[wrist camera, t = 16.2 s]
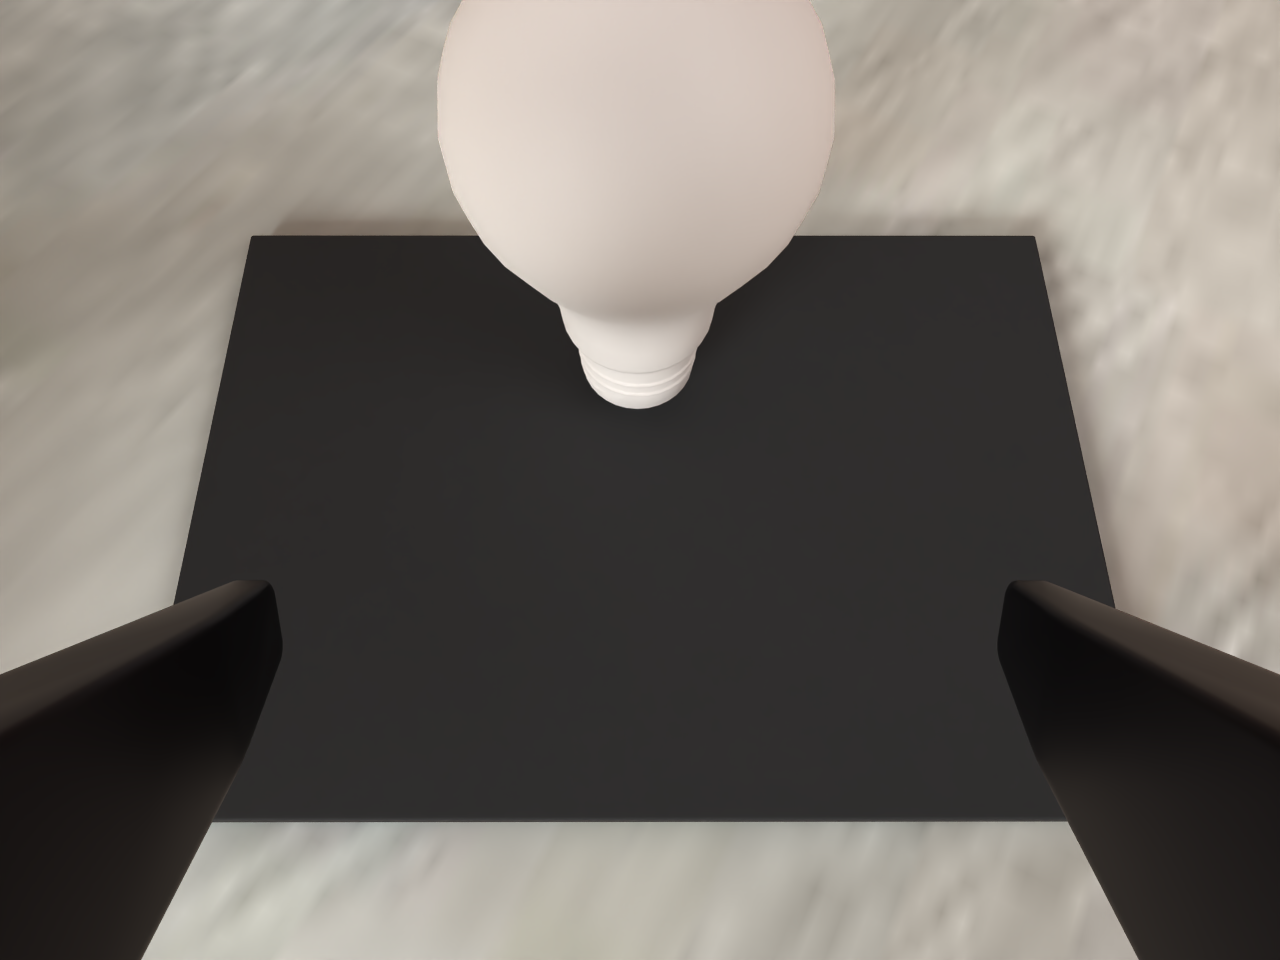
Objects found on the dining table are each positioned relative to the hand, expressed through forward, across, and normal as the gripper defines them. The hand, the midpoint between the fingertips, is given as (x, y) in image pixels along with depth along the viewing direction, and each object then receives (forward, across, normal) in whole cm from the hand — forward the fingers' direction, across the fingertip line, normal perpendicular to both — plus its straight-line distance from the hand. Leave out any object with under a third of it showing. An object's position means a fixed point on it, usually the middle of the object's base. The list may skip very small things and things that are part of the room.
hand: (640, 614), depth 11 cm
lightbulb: (+11, 0, 0) cm, 11 cm away
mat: (+10, 0, +2) cm, 10 cm away
